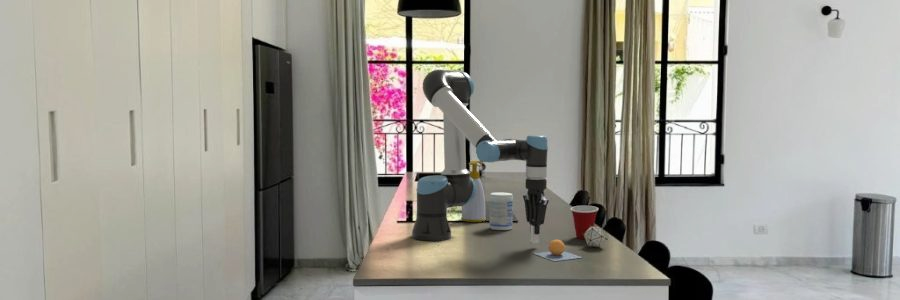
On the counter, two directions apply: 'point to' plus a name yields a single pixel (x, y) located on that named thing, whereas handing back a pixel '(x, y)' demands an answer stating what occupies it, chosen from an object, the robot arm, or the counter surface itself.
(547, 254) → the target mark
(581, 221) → the plastic cup
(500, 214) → the supplement tub
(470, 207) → the soap bottle
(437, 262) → the counter surface
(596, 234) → the game die
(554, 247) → the ball
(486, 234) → the counter surface
